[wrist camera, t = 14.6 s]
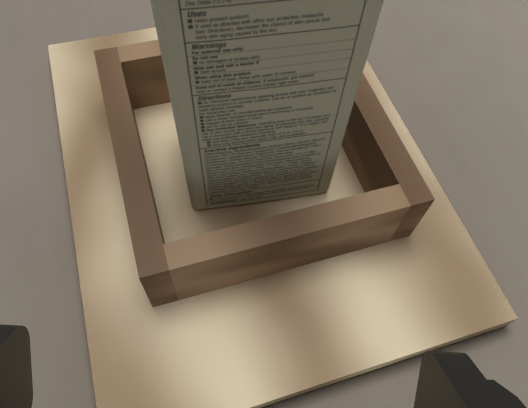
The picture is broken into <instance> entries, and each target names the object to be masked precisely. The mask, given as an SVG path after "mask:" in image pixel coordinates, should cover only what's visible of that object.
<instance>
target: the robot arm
mask: <svg viewBox="0 0 528 408" xmlns="http://www.w3.org/2000/svg"><path fill="white" fill-rule="evenodd" d="M32 400H33V387H32V370H31V353H30V337H29V332H28V330H27V328H26V327H25V326H17V325H0V408H31V406H32ZM414 408H526V407H525V406H524V404H523V403H522V402H521V401H520V400H519V398H518V397H517V396H515V395H514V394H512V393H511V392H510V391H508V390H507V389H505V388H504V387H503V386H501V385H500V384H499V383H497V382H496V381H494V380H486V379H485V377H484V376H483V375H482V373H481V372H480V371H479V369H478V368H477V367H476V365H475V364H474V363H473V361H472V360H471V359H470V357H469V356H468V355H467V354H466V353H459V352H442V351H426V352H425V353H424V355H423V358H422V361H421V367H420V373H419V379H418V385H417V391H416V397H415V403H414Z"/></svg>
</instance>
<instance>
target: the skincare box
mask: <svg viewBox="0 0 528 408" xmlns="http://www.w3.org/2000/svg"><path fill="white" fill-rule="evenodd" d="M150 1H151V6H152V11H153V16H154V21H155V26H156V31H157V36H158V41H159V47H160V52H161V56H162V61H163V66H164V71H165V76H166V81H167V86H168V91H169V95H170V101H171V106H172V111H173V116H174V121H175V126H176V131H177V136H178V141H179V146H180V150H181V155H182V160H183V166H184V171H185V177H186V182H187V186H188V191H189V196H190V200H191V205H192V207H193V208H194V209H196V210H201V209H210V208H217V207H226V206H234V205H242V204H249V203H256V202H263V201H271V200H278V199H285V198H293V197H299V196H305V195H310V194H317V193H322V192H326V191H327V190H328V189H329V186H330V182H331V179H332V176H333V172H334V169H335V165H336V162H337V158H338V155H339V151H340V148H341V144H342V141H343V137H344V134H345V131H346V127H347V124H348V121H349V117H350V114H351V110H352V107H353V104H354V100H355V97H356V93H357V90H358V86H359V83H360V80H361V76H362V72H363V69H364V66H365V63H366V60H367V56H368V53H369V49H370V46H371V42H372V39H373V35H374V32H375V28H376V25H377V21H378V18H379V14H380V11H381V7H382V4H383V1H384V0H150Z"/></svg>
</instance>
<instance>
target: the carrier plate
mask: <svg viewBox="0 0 528 408" xmlns="http://www.w3.org/2000/svg"><path fill="white" fill-rule="evenodd" d="M48 48H49V56H50V63H51V71H52V78H53V86H54V93H55V101H56V108H57V116H58V123H59V131H60V138H61V146H62V153H63V160H64V168H65V175H66V183H67V190H68V198H69V205H70V213H71V220H72V228H73V235H74V243H75V250H76V258H77V265H78V273H79V280H80V288H81V295H82V303H83V310H84V318H85V325H86V333H87V340H88V348H89V355H90V363H91V370H92V378H93V385H94V392H95V400H96V407H97V408H261V407H264V406H267V405H270V404H273V403H276V402H279V401H282V400H285V399H288V398H291V397H294V396H297V395H300V394H303V393H306V392H309V391H312V390H315V389H318V388H321V387H324V386H327V385H330V384H333V383H336V382H339V381H342V380H345V379H348V378H351V377H354V376H357V375H360V374H363V373H366V372H369V371H372V370H375V369H378V368H381V367H384V366H387V365H390V364H393V363H396V362H399V361H402V360H405V359H408V358H411V357H414V356H417V355H420V354H423V353H425V352H426V351H432V350H435V349H438V348H441V347H444V346H447V345H450V344H453V343H456V342H459V341H462V340H465V339H468V338H471V337H474V336H477V335H480V334H483V333H486V332H489V331H492V330H495V329H498V328H501V327H504V326H506V325H508V324H510V323H511V322H513V321H515V320H516V319H518V318H517V316H516V314H515V313H514V311H513V309H512V307H511V306H510V304H509V302H508V301H507V299H506V297H505V295H504V294H503V292H502V290H501V289H500V287H499V285H498V283H497V282H496V280H495V278H494V277H493V275H492V273H491V271H490V270H489V268H488V266H487V265H486V263H485V261H484V260H483V258H482V256H481V254H480V253H479V251H478V249H477V248H476V246H475V244H474V242H473V241H472V239H471V237H470V236H469V234H468V232H467V230H466V229H465V227H464V225H463V224H462V222H461V220H460V218H459V217H458V215H457V213H456V212H455V210H454V208H453V207H452V205H451V203H450V201H449V200H448V198H447V196H446V195H445V193H444V191H443V189H442V188H441V186H440V184H439V183H438V181H437V179H436V177H435V176H434V174H433V172H432V171H431V169H430V167H429V165H428V164H427V162H426V160H425V159H424V157H423V155H422V154H421V152H420V150H419V148H418V147H417V145H416V143H415V142H414V140H413V138H412V136H411V135H410V133H409V131H408V130H407V128H406V126H405V124H404V123H403V121H402V119H401V118H400V116H399V114H398V112H397V111H396V109H395V107H394V106H393V104H392V102H391V100H390V99H389V97H388V95H387V94H386V92H385V90H384V89H383V87H382V85H381V83H380V82H379V80H378V78H377V77H376V75H375V73H374V71H373V70H372V68H371V66H370V65H369V63H368V61H367V60H366V63H365V66H364V69H363V72H362V76H361V80H360V83H359V86H358V90H357V93H356V97H355V100H354V104H353V107H352V110H351V114H350V117H349V121H348V124H347V127H346V131H345V134H344V137H343V141H342V144H341V148H340V151H339V155H338V158H337V162H336V165H335V169H334V172H333V176H332V179H331V182H330V186H329V189H328V190H327V191H326V192H322V193H317V194H310V195H305V196H299V197H293V198H285V199H278V200H271V201H263V202H256V203H249V204H242V205H234V206H226V207H217V208H210V209H201V210H196V209H194V208H193V207H192V205H191V200H190V196H189V191H188V186H187V182H186V177H185V171H184V166H183V160H182V155H181V150H180V146H179V141H178V136H177V131H176V126H175V121H174V116H173V111H172V106H171V101H170V95H169V91H168V86H167V81H166V76H165V71H164V66H163V61H162V56H161V52H160V47H159V41H158V36H157V31H156V28H150V29H144V30H138V31H132V32H126V33H120V34H114V35H108V36H102V37H96V38H90V39H84V40H77V41H71V42H65V43H59V44H53V45H48Z"/></svg>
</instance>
